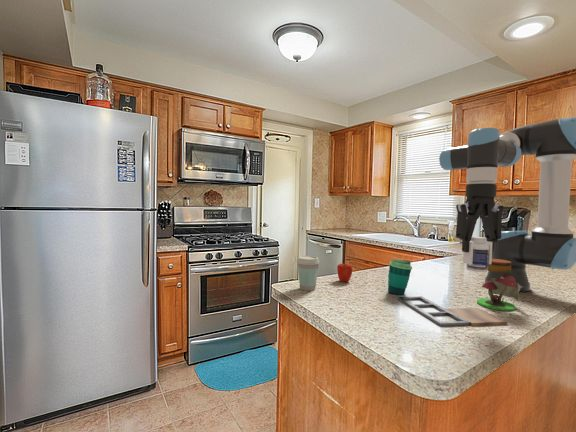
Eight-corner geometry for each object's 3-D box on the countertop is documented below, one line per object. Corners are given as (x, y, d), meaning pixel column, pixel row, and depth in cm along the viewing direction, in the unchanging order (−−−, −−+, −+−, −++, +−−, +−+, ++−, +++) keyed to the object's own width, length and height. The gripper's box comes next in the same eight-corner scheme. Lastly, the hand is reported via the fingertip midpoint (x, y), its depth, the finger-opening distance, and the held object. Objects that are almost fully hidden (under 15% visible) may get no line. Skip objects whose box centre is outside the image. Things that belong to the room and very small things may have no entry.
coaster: (477, 310, 95) (477, 307, 95) (507, 324, 84) (507, 321, 84) (445, 311, 93) (445, 308, 93) (471, 325, 82) (471, 322, 82)
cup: (388, 288, 117) (389, 258, 117) (410, 291, 114) (412, 260, 114) (387, 294, 109) (388, 261, 109) (411, 297, 107) (412, 263, 106)
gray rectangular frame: (421, 298, 106) (421, 296, 105) (470, 325, 83) (470, 322, 83) (397, 299, 104) (397, 297, 104) (440, 326, 81) (440, 323, 81)
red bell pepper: (352, 280, 129) (353, 262, 129) (351, 283, 123) (351, 265, 123) (337, 278, 131) (338, 261, 131) (335, 282, 125) (336, 264, 125)
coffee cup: (318, 292, 110) (319, 260, 109) (294, 291, 111) (295, 258, 111) (319, 286, 118) (320, 256, 118) (297, 285, 120) (298, 255, 119)
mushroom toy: (505, 314, 92) (508, 265, 91) (467, 301, 103) (469, 258, 103) (529, 310, 96) (532, 263, 96) (490, 298, 108) (492, 256, 107)
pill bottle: (491, 273, 85) (493, 238, 84) (470, 271, 86) (472, 237, 85) (483, 269, 90) (484, 236, 90) (463, 268, 91) (464, 235, 91)
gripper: (498, 185, 92) (494, 260, 93) (443, 183, 89) (439, 261, 90) (520, 183, 85) (516, 265, 86) (461, 181, 82) (457, 266, 83)
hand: (477, 263), depth 88 cm, fingers closed on pill bottle, 5 cm apart
